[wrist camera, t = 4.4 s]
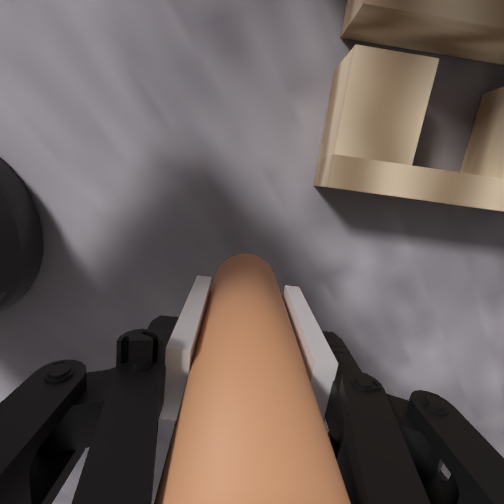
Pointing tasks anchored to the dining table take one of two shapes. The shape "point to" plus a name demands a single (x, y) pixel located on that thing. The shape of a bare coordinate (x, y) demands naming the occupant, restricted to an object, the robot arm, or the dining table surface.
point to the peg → (249, 405)
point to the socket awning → (411, 102)
